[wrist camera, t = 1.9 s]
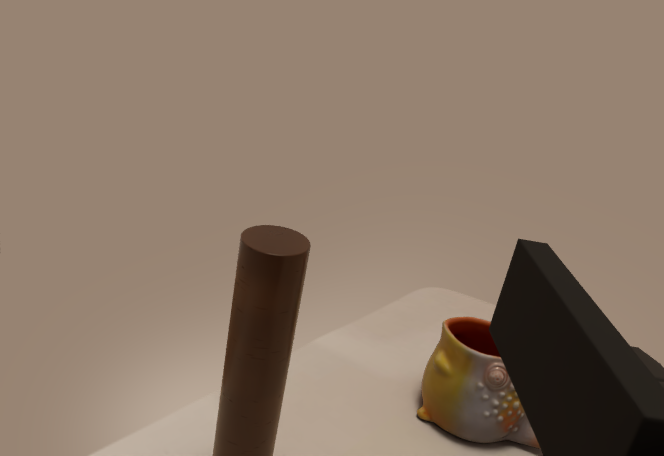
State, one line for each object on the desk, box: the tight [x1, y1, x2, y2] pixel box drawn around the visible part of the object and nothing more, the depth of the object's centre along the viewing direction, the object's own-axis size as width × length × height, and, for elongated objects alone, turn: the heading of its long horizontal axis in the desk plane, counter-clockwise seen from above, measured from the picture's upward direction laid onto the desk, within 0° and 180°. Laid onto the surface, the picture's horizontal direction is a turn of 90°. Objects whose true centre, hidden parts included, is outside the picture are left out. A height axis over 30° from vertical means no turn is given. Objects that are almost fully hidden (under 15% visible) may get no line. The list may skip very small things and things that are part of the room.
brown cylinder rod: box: [213, 225, 310, 456], centre depth 28 cm, size 4×4×16 cm
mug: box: [417, 317, 541, 449], centre depth 39 cm, size 12×7×7 cm, turn 56°
